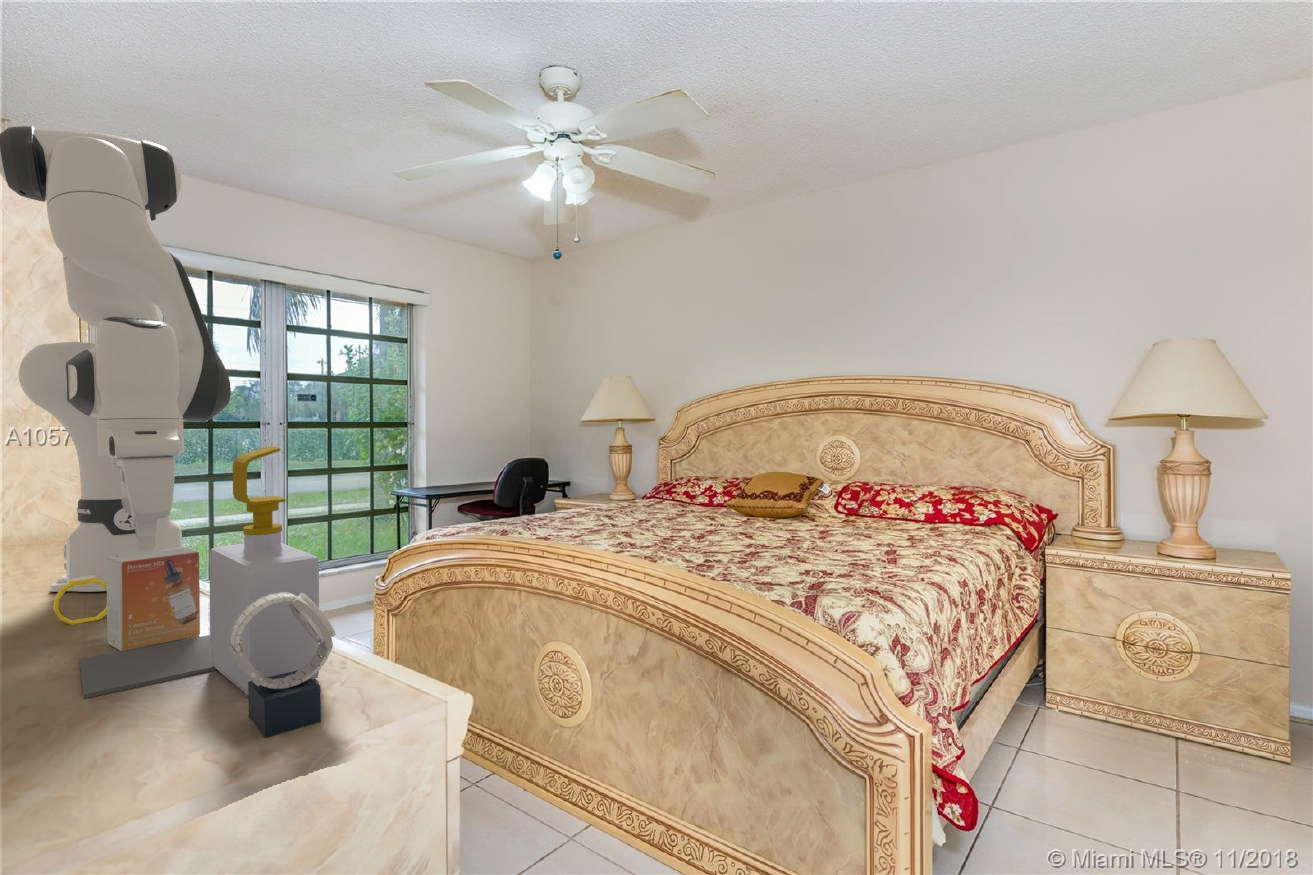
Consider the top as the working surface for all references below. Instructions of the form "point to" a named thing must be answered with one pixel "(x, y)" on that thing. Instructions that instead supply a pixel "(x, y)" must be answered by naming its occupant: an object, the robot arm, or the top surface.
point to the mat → (145, 666)
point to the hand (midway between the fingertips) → (146, 548)
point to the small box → (152, 598)
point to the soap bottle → (260, 590)
